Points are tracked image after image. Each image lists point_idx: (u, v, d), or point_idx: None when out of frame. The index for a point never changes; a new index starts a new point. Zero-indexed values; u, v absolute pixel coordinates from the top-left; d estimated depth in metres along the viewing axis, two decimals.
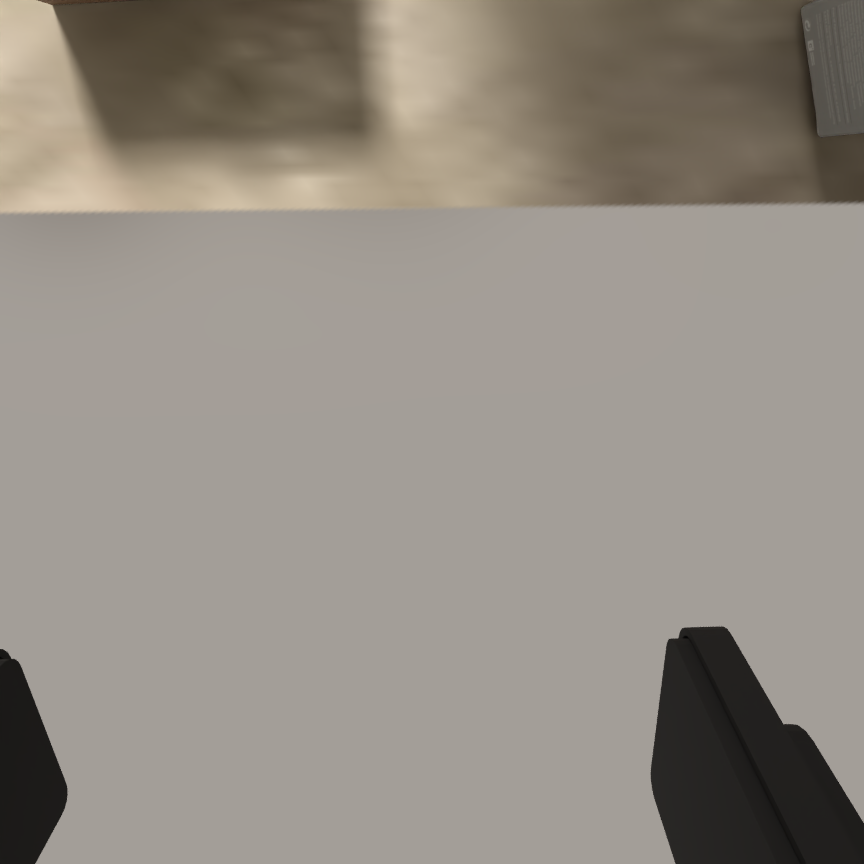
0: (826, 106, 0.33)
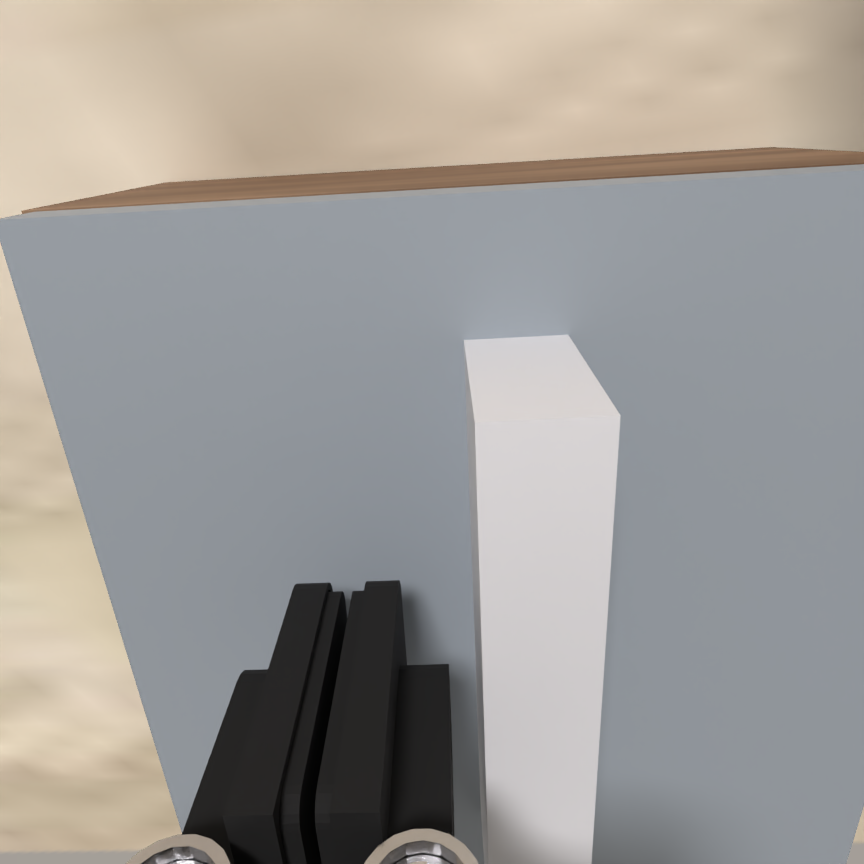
0: None
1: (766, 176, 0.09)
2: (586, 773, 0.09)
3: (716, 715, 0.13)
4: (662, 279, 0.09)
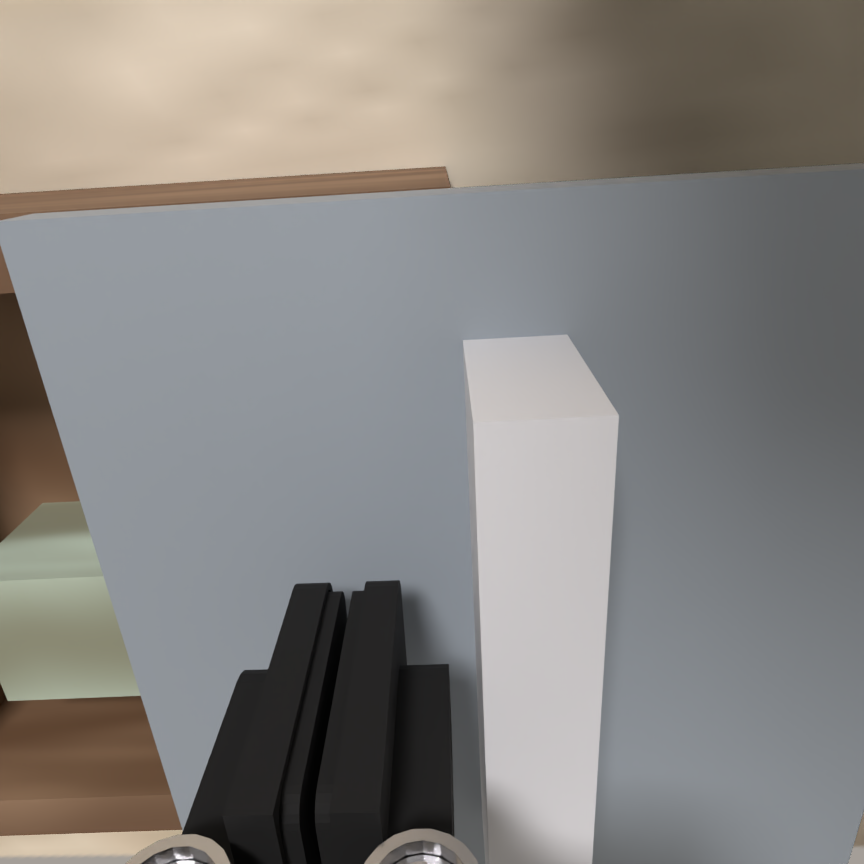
0: None
1: (765, 175, 0.09)
2: (586, 772, 0.09)
3: (717, 715, 0.13)
4: (661, 279, 0.09)
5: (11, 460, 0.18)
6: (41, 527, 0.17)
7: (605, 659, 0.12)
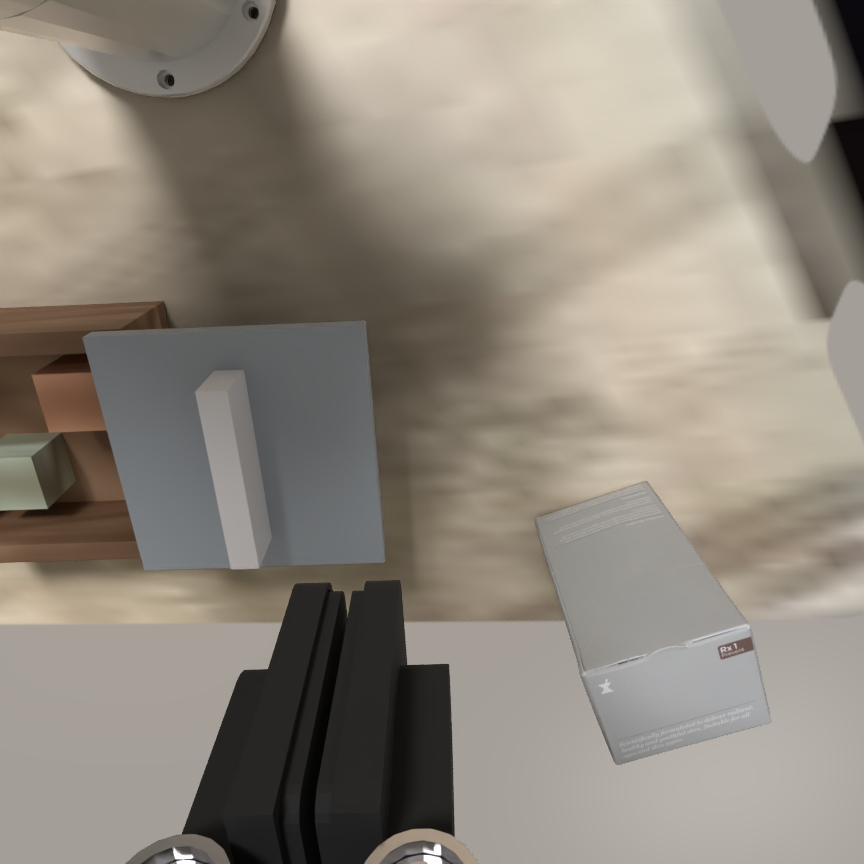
0: None
1: (288, 328, 0.33)
2: (242, 489, 0.33)
3: (319, 497, 0.37)
4: (267, 354, 0.34)
5: None
6: (5, 442, 0.41)
7: (276, 474, 0.36)
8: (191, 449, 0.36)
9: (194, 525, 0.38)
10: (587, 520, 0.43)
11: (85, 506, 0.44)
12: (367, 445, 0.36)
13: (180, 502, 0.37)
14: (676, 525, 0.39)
